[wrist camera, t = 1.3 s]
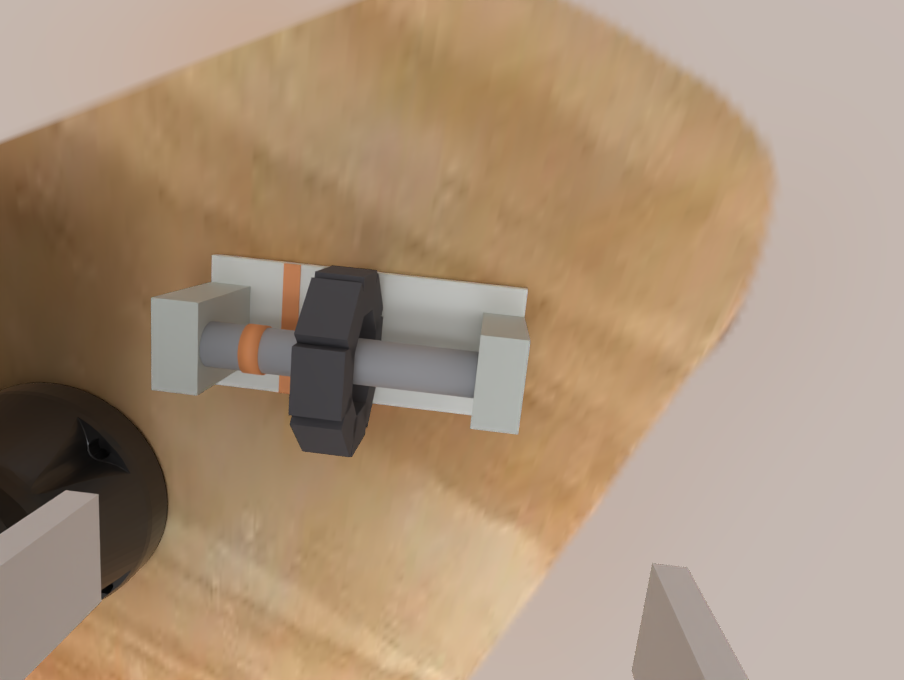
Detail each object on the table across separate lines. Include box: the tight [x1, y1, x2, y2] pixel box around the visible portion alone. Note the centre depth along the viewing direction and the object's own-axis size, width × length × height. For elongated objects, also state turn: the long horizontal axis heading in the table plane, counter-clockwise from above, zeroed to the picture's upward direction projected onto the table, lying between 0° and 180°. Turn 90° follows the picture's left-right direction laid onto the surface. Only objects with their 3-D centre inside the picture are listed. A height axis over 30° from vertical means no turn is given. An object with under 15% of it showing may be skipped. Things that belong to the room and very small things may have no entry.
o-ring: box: [289, 265, 383, 457], centre depth 32 cm, size 2×9×9 cm, turn 174°
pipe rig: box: [151, 254, 530, 434], centre depth 34 cm, size 19×8×7 cm, turn 84°
